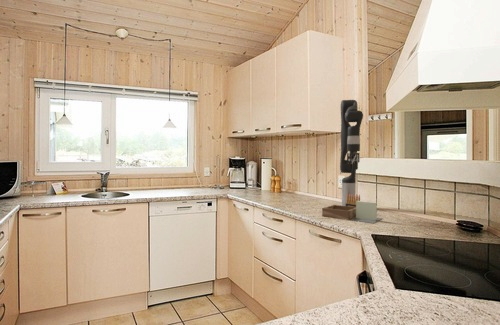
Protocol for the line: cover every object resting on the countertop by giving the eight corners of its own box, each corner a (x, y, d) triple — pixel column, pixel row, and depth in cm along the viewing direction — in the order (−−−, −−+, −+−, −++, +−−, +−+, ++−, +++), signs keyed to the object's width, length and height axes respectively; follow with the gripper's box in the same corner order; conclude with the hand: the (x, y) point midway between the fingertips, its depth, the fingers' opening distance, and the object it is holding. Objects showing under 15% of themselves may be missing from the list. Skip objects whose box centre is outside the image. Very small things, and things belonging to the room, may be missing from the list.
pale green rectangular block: (357, 217, 193) (357, 200, 193) (376, 219, 186) (376, 202, 186) (355, 218, 191) (356, 201, 191) (375, 220, 184) (375, 203, 184)
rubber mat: (360, 216, 199) (360, 215, 199) (382, 218, 191) (382, 218, 191) (350, 220, 186) (350, 219, 186) (373, 223, 178) (373, 223, 178)
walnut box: (333, 212, 210) (333, 204, 210) (358, 215, 200) (358, 207, 200) (322, 216, 198) (322, 208, 198) (348, 219, 187) (348, 211, 187)
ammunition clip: (361, 213, 208) (361, 194, 208) (359, 213, 207) (359, 194, 207) (347, 210, 217) (347, 192, 216) (345, 211, 216) (345, 192, 215)
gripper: (352, 143, 207) (351, 169, 208) (342, 143, 196) (342, 170, 197) (363, 143, 202) (363, 169, 203) (355, 143, 191) (354, 170, 192)
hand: (353, 169), depth 200 cm, fingers open, 8 cm apart
